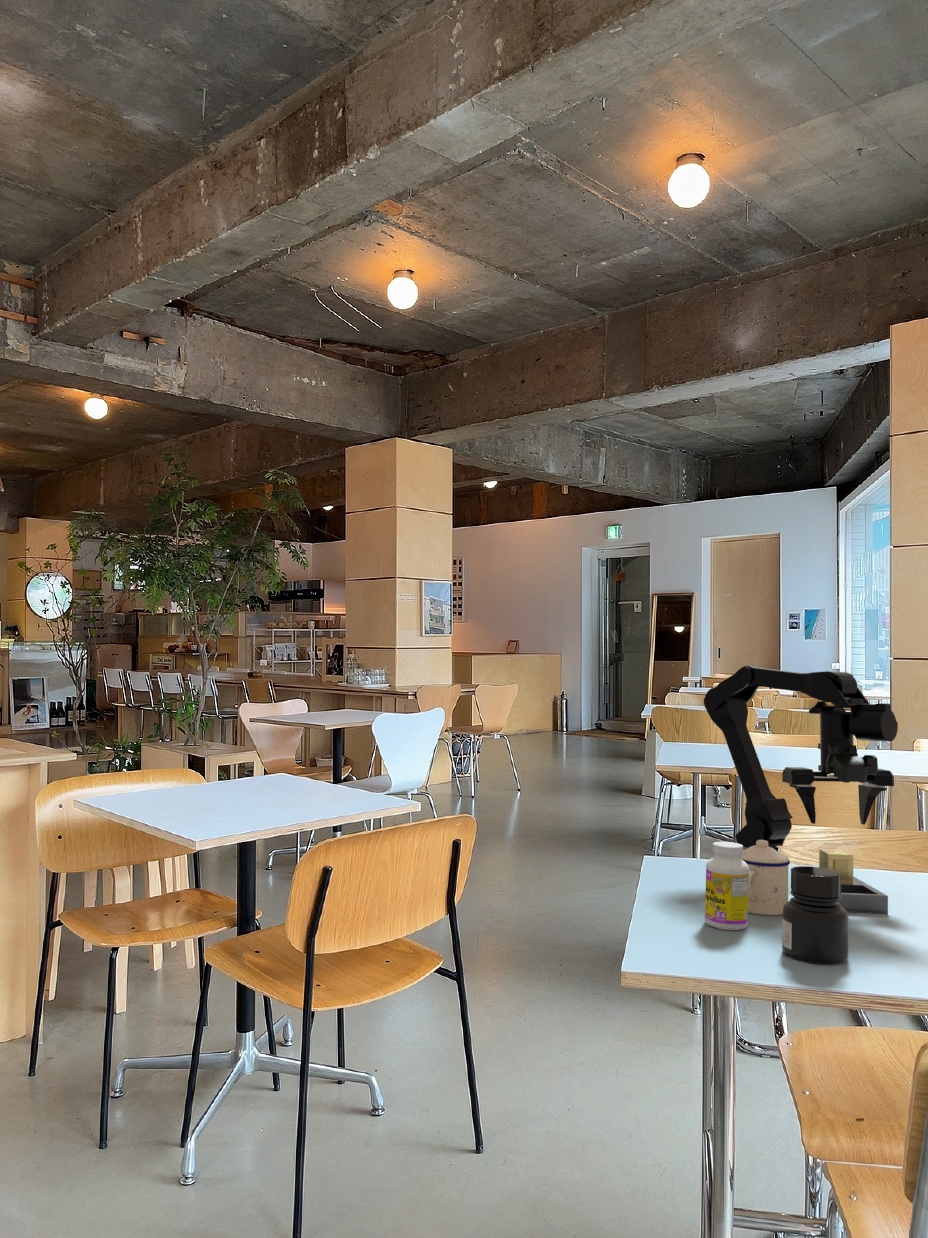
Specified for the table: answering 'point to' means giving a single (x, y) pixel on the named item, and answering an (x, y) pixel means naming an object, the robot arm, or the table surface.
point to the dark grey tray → (862, 898)
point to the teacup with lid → (766, 879)
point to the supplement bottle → (727, 887)
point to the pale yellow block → (837, 863)
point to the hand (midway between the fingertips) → (838, 824)
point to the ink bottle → (815, 917)
